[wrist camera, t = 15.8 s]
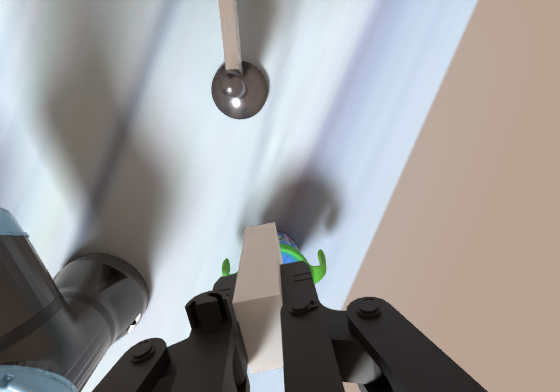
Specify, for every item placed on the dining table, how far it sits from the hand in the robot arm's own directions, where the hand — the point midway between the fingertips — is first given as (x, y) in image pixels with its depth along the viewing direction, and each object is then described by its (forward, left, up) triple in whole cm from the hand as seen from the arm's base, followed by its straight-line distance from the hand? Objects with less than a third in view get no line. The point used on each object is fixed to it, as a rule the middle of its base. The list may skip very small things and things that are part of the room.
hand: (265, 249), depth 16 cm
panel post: (-2, +10, -34) cm, 36 cm away
